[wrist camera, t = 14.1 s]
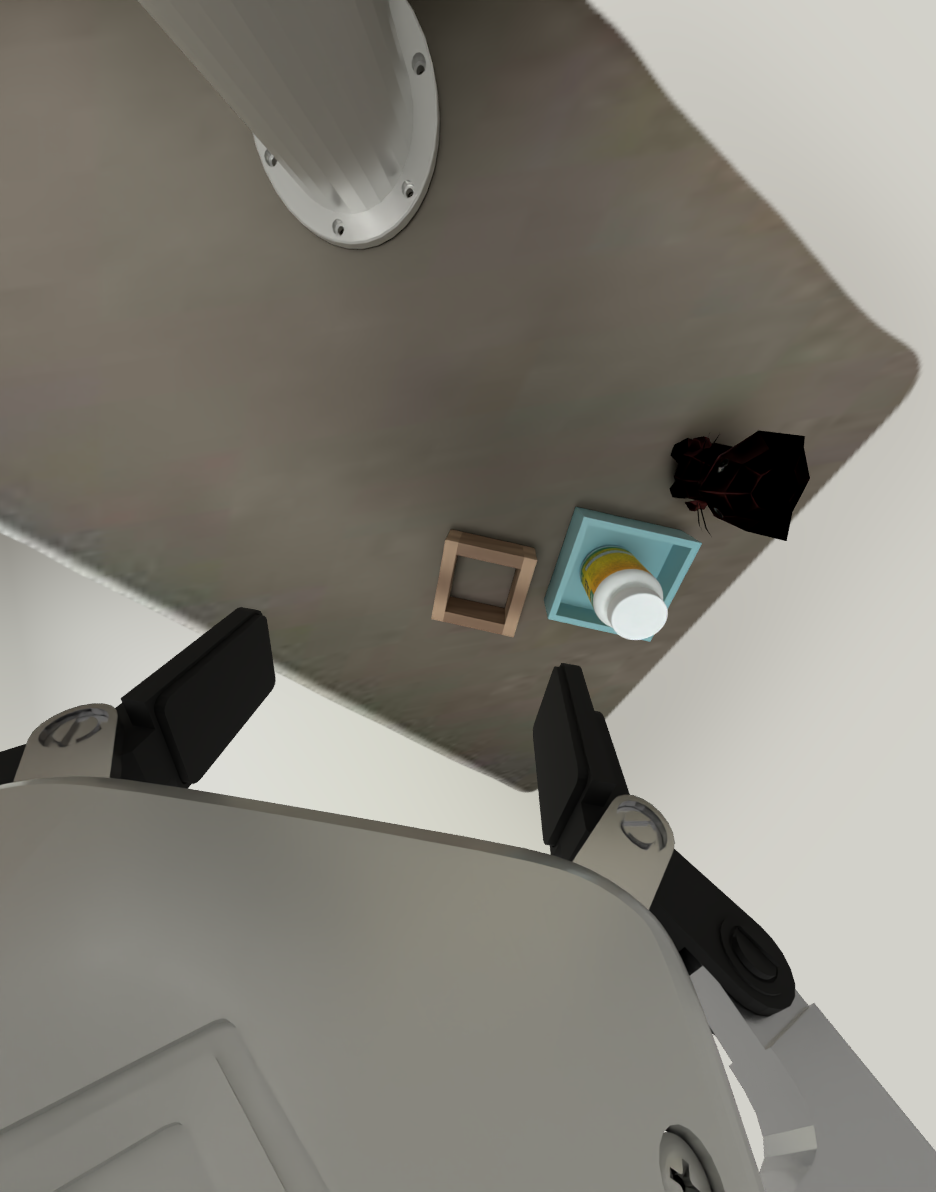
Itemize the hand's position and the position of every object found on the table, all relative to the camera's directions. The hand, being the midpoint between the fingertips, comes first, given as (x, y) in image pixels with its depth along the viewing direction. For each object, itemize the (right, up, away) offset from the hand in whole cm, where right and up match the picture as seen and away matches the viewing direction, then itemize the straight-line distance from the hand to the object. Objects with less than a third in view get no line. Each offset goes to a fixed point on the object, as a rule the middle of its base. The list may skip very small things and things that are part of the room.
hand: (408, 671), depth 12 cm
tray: (+16, +5, +24) cm, 29 cm away
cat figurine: (+22, +14, +20) cm, 32 cm away
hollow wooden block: (+4, +4, +26) cm, 27 cm away
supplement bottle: (+16, +5, +23) cm, 29 cm away
